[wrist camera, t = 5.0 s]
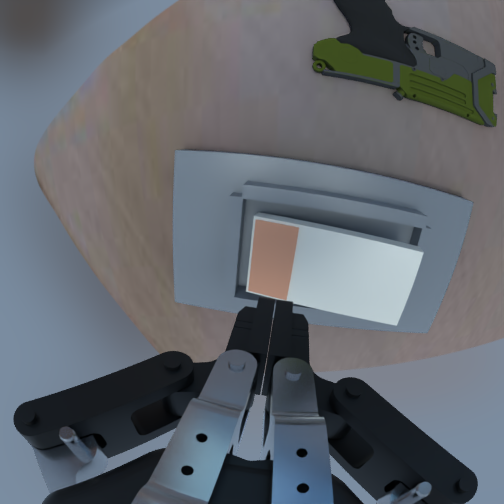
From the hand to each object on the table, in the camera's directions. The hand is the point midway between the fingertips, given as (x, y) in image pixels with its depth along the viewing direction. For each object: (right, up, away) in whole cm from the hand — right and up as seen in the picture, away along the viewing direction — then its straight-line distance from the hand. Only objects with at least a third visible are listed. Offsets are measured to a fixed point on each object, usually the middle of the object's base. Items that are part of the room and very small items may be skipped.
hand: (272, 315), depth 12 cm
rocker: (+5, +1, +7) cm, 9 cm away
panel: (+5, +3, +11) cm, 13 cm away
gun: (+14, +22, +3) cm, 26 cm away
